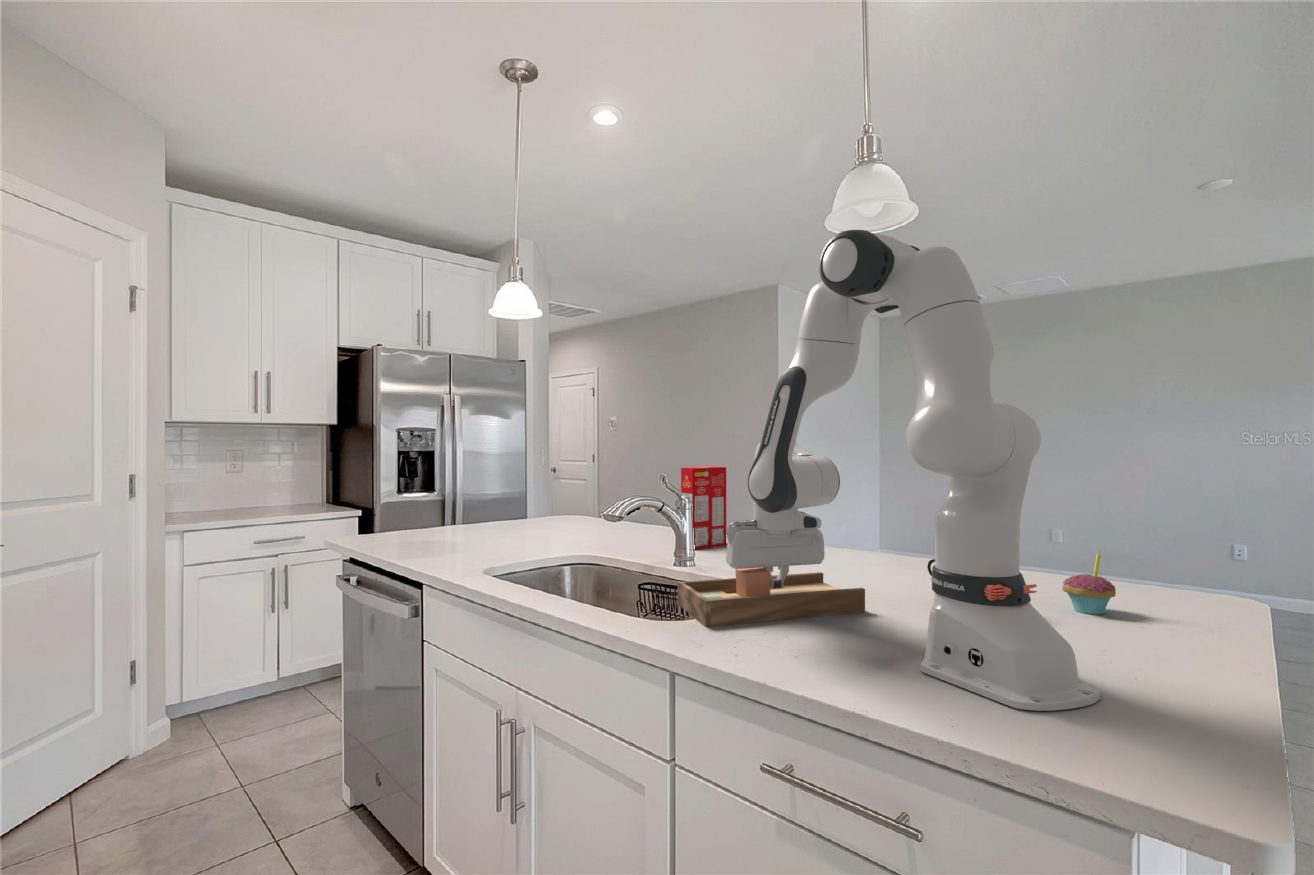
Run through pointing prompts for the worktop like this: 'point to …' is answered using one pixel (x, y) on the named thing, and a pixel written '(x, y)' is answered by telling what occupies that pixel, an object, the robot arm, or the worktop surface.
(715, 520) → the food packaging
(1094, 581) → the cupcake
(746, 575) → the block
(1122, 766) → the worktop surface
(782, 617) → the trap lane
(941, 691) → the worktop surface
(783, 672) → the worktop surface
